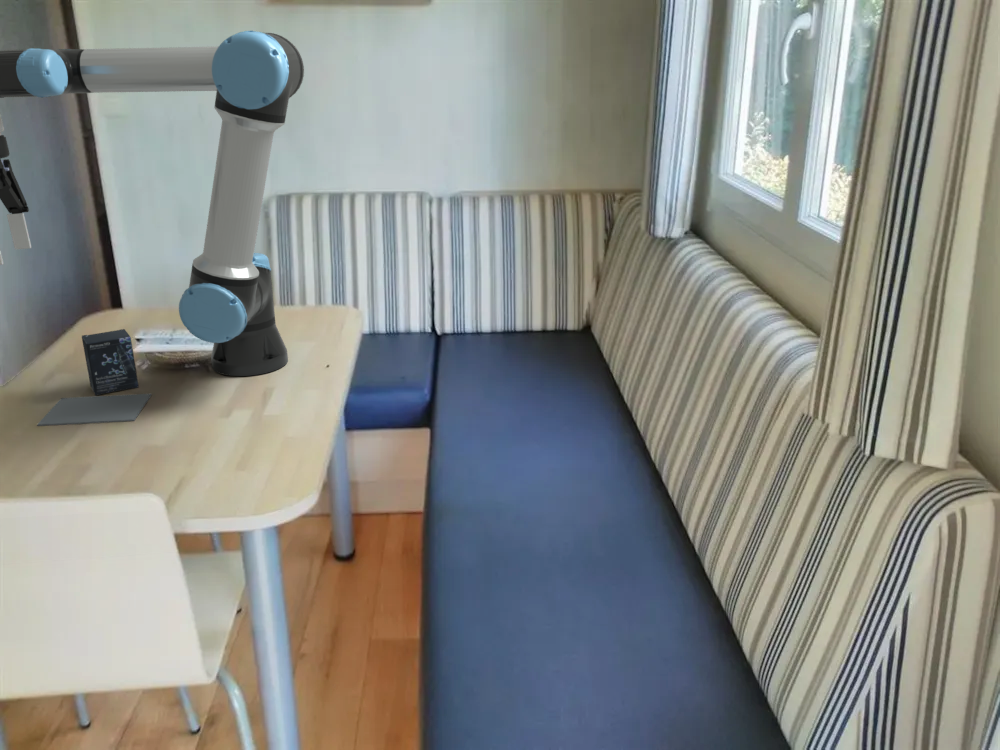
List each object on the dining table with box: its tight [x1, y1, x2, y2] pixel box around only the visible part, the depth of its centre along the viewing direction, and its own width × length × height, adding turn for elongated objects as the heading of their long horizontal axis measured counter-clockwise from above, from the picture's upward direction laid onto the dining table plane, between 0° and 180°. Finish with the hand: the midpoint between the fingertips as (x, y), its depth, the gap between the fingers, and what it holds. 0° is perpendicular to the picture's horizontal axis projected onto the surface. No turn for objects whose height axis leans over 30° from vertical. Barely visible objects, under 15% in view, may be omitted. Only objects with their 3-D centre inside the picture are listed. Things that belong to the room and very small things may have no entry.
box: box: [81, 328, 139, 396], centre depth 161 cm, size 8×6×11 cm
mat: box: [37, 393, 152, 427], centre depth 153 cm, size 16×12×1 cm
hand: (9, 256), depth 153 cm, fingers open, 13 cm apart
